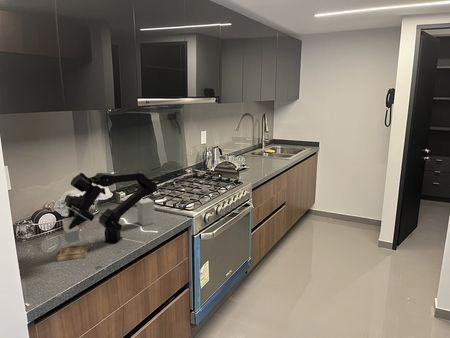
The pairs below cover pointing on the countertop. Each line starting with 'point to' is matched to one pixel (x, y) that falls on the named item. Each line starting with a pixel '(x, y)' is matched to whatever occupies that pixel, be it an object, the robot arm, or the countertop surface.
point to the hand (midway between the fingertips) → (67, 227)
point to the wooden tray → (73, 252)
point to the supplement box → (146, 211)
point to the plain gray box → (70, 231)
